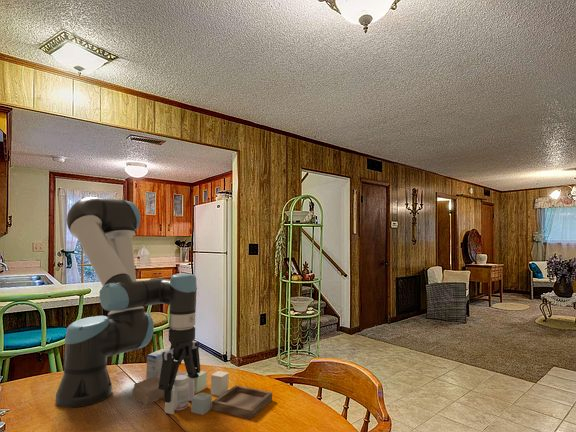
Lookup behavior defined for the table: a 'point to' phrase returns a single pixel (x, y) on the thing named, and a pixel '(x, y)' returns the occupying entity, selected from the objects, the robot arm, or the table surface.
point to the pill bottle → (181, 392)
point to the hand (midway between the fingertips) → (179, 406)
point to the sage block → (200, 381)
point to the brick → (150, 389)
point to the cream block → (219, 383)
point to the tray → (242, 401)
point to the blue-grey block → (201, 403)
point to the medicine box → (154, 363)
